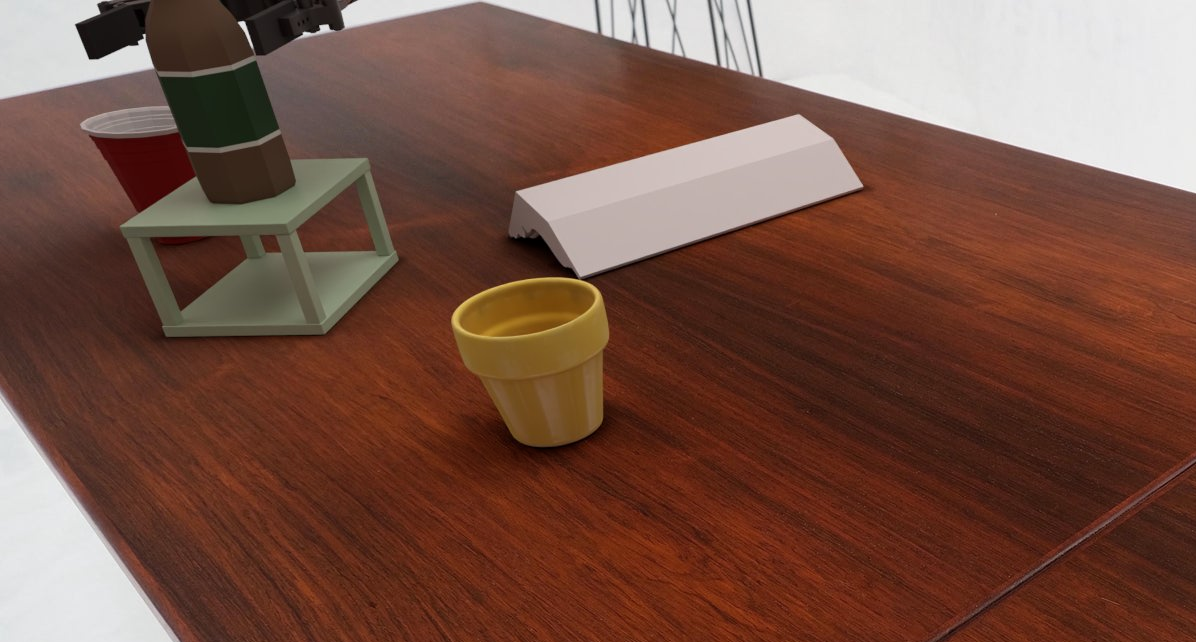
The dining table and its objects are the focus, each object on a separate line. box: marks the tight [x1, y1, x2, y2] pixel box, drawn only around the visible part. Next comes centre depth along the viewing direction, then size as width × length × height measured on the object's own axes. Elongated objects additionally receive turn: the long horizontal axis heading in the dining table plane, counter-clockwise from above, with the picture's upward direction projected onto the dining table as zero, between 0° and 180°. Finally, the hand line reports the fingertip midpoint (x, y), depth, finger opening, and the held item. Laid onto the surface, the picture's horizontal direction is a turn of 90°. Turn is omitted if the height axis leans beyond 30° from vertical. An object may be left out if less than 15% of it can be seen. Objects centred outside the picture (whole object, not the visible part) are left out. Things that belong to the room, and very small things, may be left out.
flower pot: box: [450, 277, 610, 448], centre depth 93 cm, size 10×10×10 cm
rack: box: [119, 157, 400, 338], centre depth 114 cm, size 14×16×10 cm
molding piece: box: [507, 113, 864, 281], centre depth 131 cm, size 32×12×10 cm
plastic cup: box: [79, 105, 209, 245], centre depth 127 cm, size 11×11×12 cm
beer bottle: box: [144, 0, 296, 204], centre depth 104 cm, size 8×8×24 cm
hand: (170, 40), depth 101 cm, fingers open, 13 cm apart
